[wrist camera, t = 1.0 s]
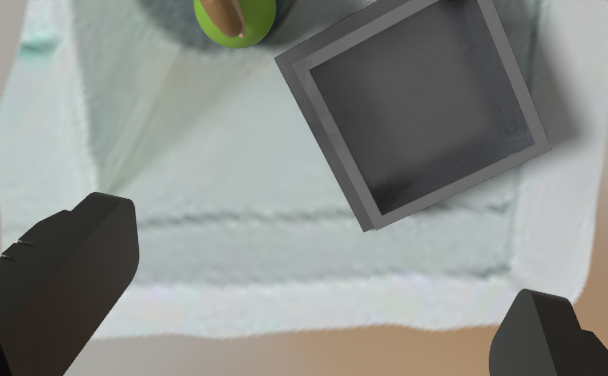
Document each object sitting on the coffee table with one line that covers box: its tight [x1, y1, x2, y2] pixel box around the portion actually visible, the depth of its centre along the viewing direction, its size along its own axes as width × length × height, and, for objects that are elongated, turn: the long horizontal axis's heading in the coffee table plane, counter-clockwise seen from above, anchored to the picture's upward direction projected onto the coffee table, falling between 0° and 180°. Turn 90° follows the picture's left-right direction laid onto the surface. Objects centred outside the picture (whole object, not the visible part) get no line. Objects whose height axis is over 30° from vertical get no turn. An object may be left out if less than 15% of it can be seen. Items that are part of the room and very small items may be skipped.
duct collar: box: [274, 0, 552, 232], centre depth 32 cm, size 15×15×5 cm
